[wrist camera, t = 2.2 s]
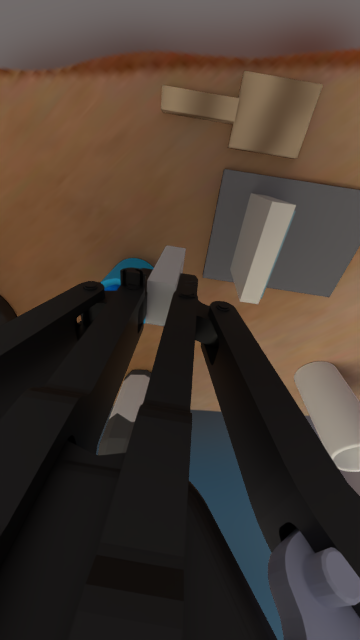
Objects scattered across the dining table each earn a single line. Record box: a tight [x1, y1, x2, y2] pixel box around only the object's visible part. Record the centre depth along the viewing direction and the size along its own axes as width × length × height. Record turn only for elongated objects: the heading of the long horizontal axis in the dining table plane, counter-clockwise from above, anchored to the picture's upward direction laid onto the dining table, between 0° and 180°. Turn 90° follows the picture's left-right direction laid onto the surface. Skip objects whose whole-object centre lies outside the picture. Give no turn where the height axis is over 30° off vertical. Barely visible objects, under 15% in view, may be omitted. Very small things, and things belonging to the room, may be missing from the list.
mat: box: [203, 169, 360, 297], centre depth 30 cm, size 20×14×1 cm
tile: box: [230, 193, 296, 304], centre depth 26 cm, size 2×10×10 cm, turn 173°
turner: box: [161, 71, 323, 159], centre depth 23 cm, size 16×6×2 cm, turn 82°
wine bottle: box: [98, 370, 151, 455], centre depth 38 cm, size 8×8×30 cm
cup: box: [294, 361, 360, 472], centre depth 38 cm, size 8×8×16 cm
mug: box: [100, 258, 154, 323], centre depth 34 cm, size 12×8×8 cm
